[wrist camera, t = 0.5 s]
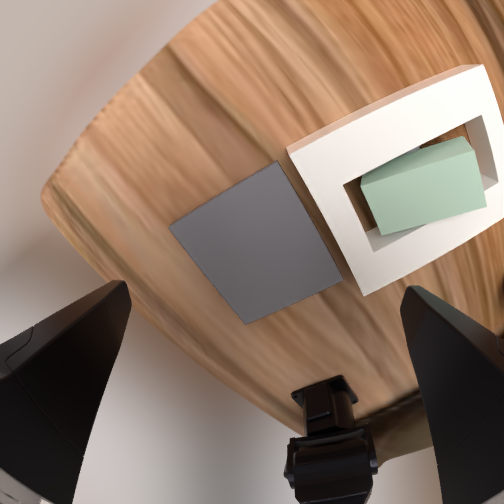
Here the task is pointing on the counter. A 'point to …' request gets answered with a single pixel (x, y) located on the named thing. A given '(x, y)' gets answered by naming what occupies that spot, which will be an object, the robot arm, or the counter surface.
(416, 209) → the sage block
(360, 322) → the counter surface
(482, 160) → the white rectangular frame
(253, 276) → the rubber mat
